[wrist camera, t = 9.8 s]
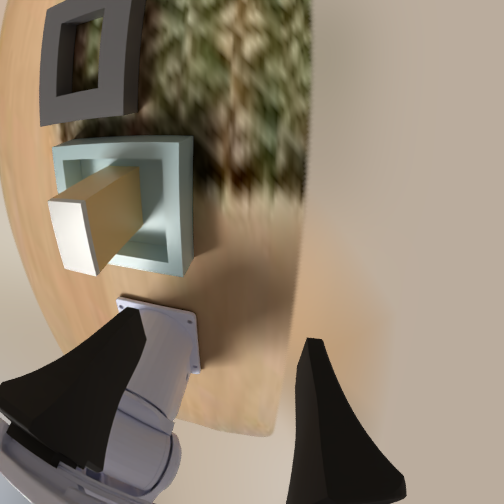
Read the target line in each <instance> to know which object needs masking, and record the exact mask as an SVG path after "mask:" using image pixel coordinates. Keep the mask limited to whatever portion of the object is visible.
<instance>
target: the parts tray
mask: <svg viewBox="0 0 504 504" xmlns="http://www.w3.org/2000/svg"><path fill="white" fill-rule="evenodd" d="M52 152H53V161H54V169H55V176H56V183H57V189H58V194H59V193H61V192H63V191H64V190H66V189H68V188H69V187H71V186H73V185H74V184H76V183H78V182H80V181H81V180H83V179H85V178H87V177H88V176H90V175H92V174H94V173H96V172H98V171H99V170H101V169H103V168H105V167H107V166H138V167H139V174H140V191H141V204H142V215H143V226H142V227H141V228H140V229H139V230H138V231H137V232H136V233H135V234H134V235H133V236H132V237H131V239H130V240H129V241H128V242H127V243H126V244H125V245H124V246H123V247H122V248H121V249H120V250H119V252H118V253H117V254H116V255H115V256H114V257H113V258H112V259H111V260H110V262H109V263H108V264H112V265H117V266H123V267H128V268H133V269H139V270H144V271H150V272H155V273H161V274H167V275H173V276H178V277H184V275H185V273H186V271H187V270H188V268H189V266H190V264H191V262H192V260H193V258H194V245H193V136H186V135H132V136H109V137H93V138H81V139H73V140H70V141H67V142H65V143H62V144H59V145H57V146H54V147H52Z"/></svg>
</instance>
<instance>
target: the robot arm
mask: <svg viewBox="0 0 504 504" xmlns="http://www.w3.org/2000/svg"><path fill="white" fill-rule="evenodd" d="M116 303H117V306H118V310H119V314H117V315H116V316H115V317H114V318H113V319H111V320H110V321H109V322H108V323H107V324H105V325H104V326H103V327H102V328H100V329H99V330H98V331H97V332H96V333H94V334H93V335H92V336H91V337H89V338H88V339H87V340H85V341H84V342H83V343H81V344H80V345H79V346H77V347H76V348H74V349H73V350H72V351H70V352H69V353H67V354H65V355H64V356H62V357H61V358H59V359H57V360H56V361H54V362H52V363H50V364H48V365H46V366H44V367H42V368H40V369H38V370H36V371H34V372H32V373H29V374H26V375H24V376H21V377H18V378H15V379H12V380H8V381H5V382H2V383H1V385H0V412H1V413H3V414H4V416H6V417H7V418H8V419H9V420H10V421H11V424H10V425H8V424H7V423H6V422H5V421H4V420H2V419H1V418H0V473H1V474H2V475H3V476H4V477H5V478H6V479H7V480H8V481H9V482H10V483H11V484H12V485H13V486H14V487H15V488H16V489H17V490H18V491H19V492H20V493H21V494H22V495H23V496H25V498H27V499H28V500H29V501H30V502H31V503H32V504H154V503H152V502H153V501H154V500H155V498H156V497H157V496H158V495H159V494H160V493H161V492H162V491H163V490H165V489H166V488H167V487H168V486H169V485H170V484H171V482H172V481H173V479H174V478H175V476H176V474H177V471H178V468H179V465H180V461H181V446H180V443H179V439H178V437H177V435H176V434H174V433H173V432H172V430H173V427H174V422H173V420H174V419H175V417H176V416H177V414H178V411H179V408H180V404H181V401H182V398H183V395H184V392H185V389H186V386H187V383H188V380H189V377H190V374H191V373H194V374H200V371H201V367H200V357H199V346H198V334H197V322H196V315H195V314H194V313H193V312H190V311H185V310H180V309H175V308H170V307H165V306H160V305H155V304H150V303H146V302H141V301H137V300H132V299H128V298H124V297H118V298H117V300H116ZM190 320H191V321H190ZM295 403H296V441H295V450H294V459H293V466H292V473H291V479H290V485H289V491H288V496H287V501H286V504H391V503H393V502H397V501H399V500H402V499H404V498H405V497H406V496H407V495H406V484H405V480H404V476H403V475H402V474H401V473H400V472H399V471H398V470H397V469H396V468H395V467H394V466H393V465H392V464H391V463H390V461H389V460H388V459H387V458H386V457H385V456H384V455H383V454H382V452H381V451H380V450H379V449H378V447H377V446H376V445H375V444H374V442H373V441H372V439H371V438H370V437H369V435H368V434H367V433H366V431H365V430H364V428H363V427H362V425H361V424H360V422H359V420H358V419H357V417H356V415H355V414H354V412H353V410H352V408H351V407H350V405H349V403H348V401H347V399H346V397H345V395H344V393H343V391H342V389H341V387H340V384H339V382H338V380H337V378H336V375H335V373H334V370H333V368H332V365H331V363H330V361H329V357H328V355H327V352H326V349H325V346H324V342H323V340H322V339H315V338H307V339H306V342H305V345H304V348H303V351H302V354H301V357H300V360H299V362H298V365H297V373H296V385H295Z"/></svg>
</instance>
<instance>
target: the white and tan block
mask: <svg viewBox="0 0 504 504" xmlns="http://www.w3.org/2000/svg"><path fill="white" fill-rule="evenodd" d="M48 205H49V210H50V215H51V219H52V224H53V228H54V232H55V236H56V240H57V244H58V247H59V251H60V254H61V258H62V261H63V265H64V268H65V269H68V270H72V271H76V272H80V273H84V274H89V275H93V276H97V275H98V274H99V273H100V272H101V271H102V269H103V268H104V267H105V266H106V265H107V264H108V263H109V262H110V260H111V259H112V258H113V257H114V256H115V255H116V254H117V253H118V252H119V250H120V249H121V248H122V247H123V246H124V245H125V244H126V243H127V242H128V241H129V240H130V239H131V237H132V236H133V235H134V234H135V233H136V232H137V231H138V230H139V229H140V228H141V227H142V226H143V215H142V204H141V191H140V174H139V167H138V166H107V167H105V168H103V169H101V170H99V171H98V172H96V173H94V174H92V175H90V176H88V177H87V178H85V179H83V180H81V181H80V182H78V183H76V184H74V185H73V186H71V187H69V188H68V189H66V190H64V191H63V192H61V193H59V194H58V195H56V196H55V197H53V198H51V199H50V200H48Z"/></svg>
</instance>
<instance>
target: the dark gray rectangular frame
mask: <svg viewBox="0 0 504 504" xmlns="http://www.w3.org/2000/svg"><path fill="white" fill-rule="evenodd" d="M145 3H146V0H66V1H64V2H62V3H59V4H57V5H55V6H53V7H51V8H49V9H47V13H46V19H45V25H44V32H43V40H42V50H41V62H40V86H39V104H40V127H42V126H47V125H52V124H58V123H64V122H70V121H77V120H84V119H92V118H101V117H111V116H122V115H127V114H132V113H137V110H138V75H139V59H140V46H141V35H142V26H143V18H144V10H145ZM100 17H103V25H102V33H101V43H100V55H99V72H98V88H96V89H90V90H85V91H80V92H75V93H72V74H73V57H74V45H75V35H76V27H77V25H79V24H82V23H85V22H88V21H91V20H94V19H97V18H100Z"/></svg>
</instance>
